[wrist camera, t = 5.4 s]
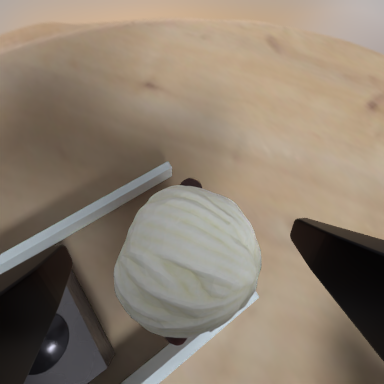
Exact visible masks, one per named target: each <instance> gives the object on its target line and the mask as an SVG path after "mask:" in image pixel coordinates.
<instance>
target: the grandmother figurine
mask: <svg viewBox="0 0 384 384" xmlns="http://www.w3.org/2000/svg"><path fill="white" fill-rule="evenodd" d="M260 270H261V250H260V247H259V245H258V242H257V240H256V237H255V232H254V230H253V228H252V226H251V224H250V222H249V220H248V219H247V218H246V217H245V216H244V214H243V212H242V211H241V210H240V208H239V207H238V206H237V204H236V203H234V202H233V201H232V200H230V199H228V198H226V197H224V196H222V195H220V194H216V193H213V192H211V191H208V190H205V189H202V186H201V184H200V182H199V180H197V179H196V178H188V179H186V180H184V181H183V182H182V183H181V184H180V185H175V186H170V187H168V188H165V189H163V190H161V191H159V192H157V193H155V194H154V195H153V196H151V197H150V198H149V200H148V201H147V203H146V204H145V205H144V206H142V207H141V208H140V209H139V211H138V212H137V214H136V216H135V218H134V221H133V223H132V224H131V226H130V228H129V230H128V234H127V238H126V240H125V242H124V245H123V247H122V250H121V252H120V254H119V256H118V259H117V262H116V265H115V268H114V286H115V293H116V296H117V298H118V299H119V301H120V303H121V304H122V306H123V308H124V309H125V311H126V312H127V313H128V314H129V315H130V316H131V318H133V319H134V320H136V321H137V322H138V323H139V324H140V325H141V326H142V327H144V328H145V329H146V330H148V331H150V332H152V333H154V334H157V335H161V336H164V338H165V339H166V340H167V341H168V342H170V343H171V344H173V345H176V346H179V345H182V344H183V343H184V342H185V341H186V340H187V338H188V337H193V336H196V335H199V334H202V333H205V332H208V331H209V332H212V331H213V330H214V329H216V328H219V327H220V326H222V325H223V324H225V323H226V322H228V321H229V320H230V319H232V317H233V316H234V315H235V314H236V313H237V312H238V311H239V310H241V309H242V308H243V307H245V306H246V304H247V303H248V301H249V299H250V298H251V297H252V296H253V294H254V292H255V290H256V287H257V281H258V275H259V273H260Z"/></svg>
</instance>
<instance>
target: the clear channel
mask: <svg viewBox="0 0 384 384" xmlns="http://www.w3.org/2000/svg"><path fill="white" fill-rule="evenodd" d="M171 176H172V167H171V165H170V164H169V162H168V161H167V162H165V163H164V164H162V165H160V166H158V167H156V168H155V169H153V170H151V171H149V172H147V173H146V174H144V175H142V176H140V177H138V178H137V179H135V180H133V181H131V182H129V183H128V184H126V185H124V186H122V187H120V188H119V189H117V190H115V191H113V192H111V193H110V194H108V195H106V196H104V197H102V198H101V199H99V200H97V201H95V202H93V203H92V204H90V205H88V206H86V207H85V208H83V209H81V210H79V211H77V212H76V213H74V214H72V215H70V216H68V217H67V218H65V219H63V220H61V221H59V222H58V223H56V224H54V225H52V226H50V227H49V228H47V229H45V230H43V231H41V232H40V233H38V234H36V235H34V236H32V237H31V238H29V239H27V240H25V241H23V242H22V243H20V244H18V245H16V246H14V247H13V248H11V249H9V250H7V251H6V252H4V253H2V254H0V274H2V273H4V272H5V271H7V270H9V269H11V268H13V267H14V266H16V265H18V264H20V263H22V262H23V261H25V260H27V259H29V258H31V257H33V256H34V255H36V254H38V253H40V252H42V251H43V250H45V249H47V248H49V247H51V246H53V245H54V244H56V243H58V242H59V241H61V240H63V239H65V238H66V237H68V236H70V235H71V234H73V233H75V232H77V231H78V230H80V229H82V228H84V227H85V226H87V225H89V224H90V223H92V222H94V221H96V220H97V219H99V218H101V217H102V216H104V215H106V214H108V213H109V212H111V211H113V210H114V209H116V208H118V207H120V206H121V205H123V204H125V203H127V202H128V201H130V200H132V199H133V198H135V197H137V196H139V195H140V194H142V193H144V192H145V191H147V190H149V189H151V188H152V187H154V186H156V185H157V184H159V183H161V182H163V181H164V180H166V179H168V178H170V177H171ZM258 298H259V296H258V294H257V293H256V291H255V292H254V294H253V296H252V297H251V298H250V299H249V301H248V303H247V304H246V306H245V307H243V308H242V309H241V310H239V311H238V312H237V313H236V314H235V315H234V316H233V317H232V319H230V320H229V321H228V322H226V323H225V324H223V325H222V326H220V327H219V328H216V329H214V330H213V331H212V332H209V331H208V332H205V333H202V334H199V335H196V336H193V337H188V338H187V340H186V341H185V342H184V343H183V344H182V345H179V346H176V345H173V344H171V343H170V344H168V345H167V346H166V347H165V348H163V349H162V350H161V351H160V352H159V353H157V354H156V355H155V356H154V357H152V358H151V359H150V360H149V361H148V362H146V363H145V364H144V365H143V366H141V367H140V368H139V369H138V370H136V371H135V372H134V373H133V374H132V375H130V376H129V377H128V378H127V379H125V380H124V381H123V382H122V383H121V384H159V383H160V382H161V381H162V380H163V379H165V378H166V377H167V376H168V375H169V374H170V373H172V372H173V371H174V370H175V369H176V368H177V367H179V366H180V365H181V364H182V363H183V362H184V361H186V360H187V359H188V358H189V357H190V356H191V355H192V354H194V353H195V352H196V351H197V350H198V349H199V348H201V347H202V346H203V345H204V344H205V343H206V342H208V341H209V340H210V339H211V338H212V337H213V336H215V335H216V334H217V333H218V332H219V331H220V330H222V329H223V328H224V327H225V326H226V325H227V324H229V323H230V322H231V321H232V320H233V319H234V318H236V317H237V316H238V315H239V314H240V313H241V312H243V311H244V310H245V309H246V308H247V307H248V306H250V305H251V304H252V303H253V302H254V301H255V300H257V299H258Z"/></svg>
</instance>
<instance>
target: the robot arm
mask: <svg viewBox="0 0 384 384" xmlns="http://www.w3.org/2000/svg"><path fill="white" fill-rule="evenodd" d="M290 237H291V240H292V242H293V243H294V245H295V246H296V248H297V249H298V251H299V252H300V254H301V255H302V257H303V259H304V260H305V262H306V263H307V265H308V266H309V268H310V269H311V270H312V272H313V273H314V274H315V276H316V277H317V278H318V279H319V281H320V282H321V283H322V284H323V286H324V287H325V288H326V289H327V291H328V292H329V293H330V295H331V296H332V297H333V298H334V300H335V301H336V302H337V303H338V305H339V306H340V307H341V308H342V310H343V311H344V312H345V313H346V315H347V316H348V317H349V318H350V320H351V321H352V322H353V324H354V325H355V326H356V327H357V329H358V330H359V331H360V332H361V334H362V335H363V336H364V337H365V339H366V340H367V341H368V342H369V344H370V345H371V346H372V347H373V349H374V350H375V351H376V353H377V354H378V355H379V356H380V358H381V359H382V360H383V361H384V240H382V239H378V238H375V237H371V236H368V235H364V234H361V233H357V232H353V231H350V230H346V229H343V228H339V227H336V226H332V225H329V224H325V223H322V222H318V221H315V220H311V219H308V218H299V219H296V220H295V221H294V224H293V227H292V230H291V233H290ZM72 265H73V263H72V259H71V257H70V255H69V253H68V250H67V248H66V247H65V246H64V245H56V246H51V247H49V248H47V249H45V250H43V251H42V252H40V253H38V254H36V255H34V256H33V257H31V258H29V259H27V260H25V261H23V262H22V263H20V264H18V265H16V266H14V267H13V268H11V269H9V270H7V271H5V272H4V273H2V274H0V384H24V382H25V380H26V378H27V376H28V374H29V371H30V369H31V367H32V365H33V363H34V360H35V358H36V356H37V354H38V352H39V350H40V347H41V345H42V343H43V341H44V339H45V336H46V334H47V332H48V330H49V328H50V325H51V323H52V321H53V319H54V317H55V314H56V312H57V310H58V308H59V305H60V302H61V300H62V297H63V294H64V291H65V288H66V285H67V282H68V279H69V276H70V273H71V270H72Z"/></svg>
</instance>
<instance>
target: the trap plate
mask: <svg viewBox="0 0 384 384" xmlns="http://www.w3.org/2000/svg"><path fill="white" fill-rule="evenodd" d="M114 354H115V353H114V351H113V349H112V347H111V345H110V343H109V341H108V339H107V337H106V335H105V333H104V331H103V329H102V327H101V325H100V323H99V321H98V319H97V318H96V316H95V314H94V312H93V310H92V308H91V306H90V304H89V302H88V300H87V298H86V296H85V294H84V292H83V290H82V288H81V286H80V284H79V282H78V280H77V279H76V277H75V275H74V273H73V271H72V270H71V273H70V276H69V279H68V282H67V285H66V288H65V291H64V294H63V297H62V300H61V302H60V305H59V308H58V310H57V312H56V314H55V317H54V319H53V321H52V323H51V325H50V328H49V330H48V332H47V334H46V336H45V339H44V341H43V343H42V345H41V347H40V350H39V352H38V354H37V356H36V358H35V360H34V363H33V365H32V367H31V369H30V371H29V374H28V376H27V378H26V380H25V382H24V384H87V383H89V382H90V381H91V380H93V379H94V378H95V377H96V376H98V375H99V374H100V373H101V372H103V371H104V370H105V369H107V368H108V366H109V364H110V362H111V360H112V358H113V356H114Z"/></svg>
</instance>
